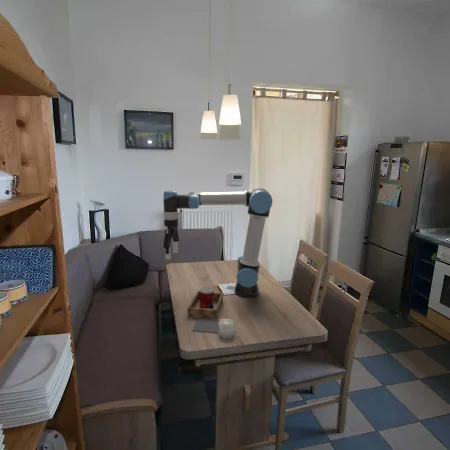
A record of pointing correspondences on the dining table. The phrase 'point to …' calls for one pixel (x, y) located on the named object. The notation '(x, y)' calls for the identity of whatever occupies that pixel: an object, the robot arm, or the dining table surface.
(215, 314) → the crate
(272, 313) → the dining table surface
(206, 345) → the dining table surface
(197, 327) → the mat
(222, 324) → the off-white domed pebble
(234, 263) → the dining table surface
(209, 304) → the canned food
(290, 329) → the dining table surface
